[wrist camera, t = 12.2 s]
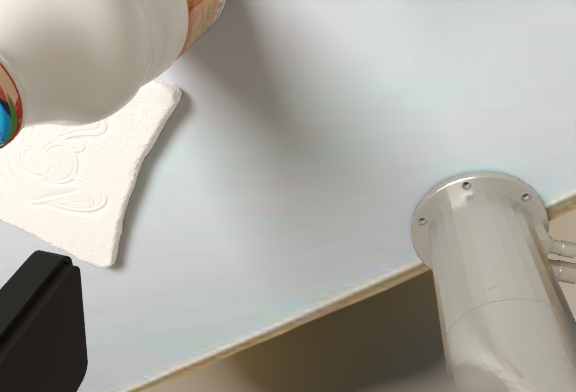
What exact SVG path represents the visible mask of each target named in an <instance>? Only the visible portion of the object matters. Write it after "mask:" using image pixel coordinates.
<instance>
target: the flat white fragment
mask: <svg viewBox="0 0 576 392" xmlns="http://www.w3.org/2000/svg"><path fill="white" fill-rule="evenodd" d="M181 95H182V92H181V90H180V89H179V88H178V87H176V86H175V85H172V84H169V83H166V82H164V81H161V80H158V79H154V80H152V81H151V82H149V83H148V84H146V85H144V86H142V87H140V89H139V90H138V92H137V94H136V95H135V96H134V97H133V99H132V100H131V101H130V102H129V103H128V104H127V105H125V106H124V107H123V108H122V109H120V110H119V111H117V112H116V113H115V114H113V115H111V116H110V117H108V118H106V119H103V120H101V121H98V122H95V123H92V124H88V125H81V126H60V125H54V124H44V125H36V126H30V127H25V128H23V129H22V130H21V132H20V133H19V134H18V135H17V136H16V137H15V138H14V140H13V141H11V142H10V143H9V144H8V145H6V146H5V147H3V148H1V149H0V220H2V221H4V222H6V223H8V224H12V225H13V226H16V227H19V228H21V229H23V230H25V231H27V232H29V233H30V234H32V235H34V236H37V237H39V238H40V239H41V240H43V241H46V242H48V243H50V244H51V245H53V246H54V247H57V248H59V249H62V250H63V251H65V252H67V253H70V254H72V255H73V256H75V257H77V258H78V259H80V260H81V261H84V262H87V263H90V264H92V265H95V266H98V267H101V268H107V267H110V266H112V265H114V263H115V261H116V258H117V255H118V248H119V240H120V236H121V234H122V228H123V219H124V216H125V211H126V208H127V205H128V202H129V198H130V196H131V194H132V192H133V189H134V187H135V183H136V180H137V176H138V172H139V170H140V167H141V164H142V162H143V161H144V158H145V156H146V155H147V154H148V152H149V151H150V150H151V149H152V147H153V145H154V143H155V141H156V140H157V138H158V136H159V134H160V132H161V130H162V128H163V127H164V125H165V123H166V122H167V120H168V118H169V116H170V115H171V114H172V112H173V111H174V109H175V108H176V106H177V104H178V102H179V101H180V98H181Z"/></svg>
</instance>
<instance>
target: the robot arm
mask: <svg viewBox="0 0 576 392" xmlns="http://www.w3.org/2000/svg"><path fill="white" fill-rule="evenodd" d="M464 182H467V183H464ZM548 228H549V220H548V215H547V211H546V209H545V207H544V204H543V202H542V201H541V199H540V197H539V196H538V194H537V193H536V192H535V191H534V190H533V189H532V188H531V187H530V186H529V185H527V184H526V183H524V182H523V181H521V180H519V179H517V178H515V177H512V176H510V175H507V174H502V173H497V172H483V171H480V172H472V173H466V174H462V175H459V176H455V177H453V178H450V179H448V180H446V181H444V182H442V183H440V184H439V185H438V186H436V187H435V188H433V189H432V190H431V191H430V192H429V193H428V194H427V195H426V196H425V197H424V198H423V199H422V200H421V202H420V203H419V205H418V206H417V208H416V211H415V213H414V216H413V219H412V225H411V232H412V241H413V246H414V248H415V250H416V253H417V255H418V256H419V258H420V259H421V260H422V262H423V263H424V264H425V265H426V266H427V267H428V268H430V269H431V270H432V271H433V276H434V282H435V289H436V296H437V304H438V310H439V317H440V325H441V332H442V339H443V345H444V352H445V358H446V365H447V369H448V373H449V376H450V378H451V381H452V383H453V385H454V387H455V388H456V390H457V391H458V392H576V322H575V319H574V317H573V315H572V312H571V310H570V308H569V306H568V303H567V301H566V299H565V297H564V294H563V292H562V290H561V288H560V285H559V283H558V281H562V282H567V283H572V284H574V283H576V264H575V263H570V262H565V261H560V260H556V261H555V260H550V259H548V258H547V255H548V254H549V253H554V254H558V255H560V256H565V257H570V258H573V257H575V255H576V244H575V243H571V242H565V241H557V240H552V237H551V236H549V235H548ZM87 365H88V360H87V347H86V335H85V323H84V311H83V299H82V287H81V275H80V269H79V267H77V266H73V264H72V260H71V258H70V257H68V256H64V255H59V254H55V253H50V252H45V251H40V250H38V251H35V252H34V253H33V254H32V255H31V256H30V257H29V258H28V259H27V260H26V261H25V262H24V263H23V265H22V266H21V267H20V268H19V269H18V270H17V271H16V272H15V274H14V275H13V276H12V277H11V278H10V279H9V280H8V281H7V283H6V284H5V285H4V286H3V287H2V288H1V289H0V392H77V390H78V388H79V386H80V384H81V383H82V381H83V379H84V376H85V373H86V370H87Z"/></svg>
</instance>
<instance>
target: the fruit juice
mask: <svg viewBox="0 0 576 392" xmlns="http://www.w3.org/2000/svg"><path fill="white" fill-rule="evenodd" d="M225 3H226V0H0V149H1V148H3V147H5V146H6V145H8V144H9V143H10V142H11V141H13V140H14V138H15V137H16V136H17V135H18V134H19V133H20V132H21V130H22V129H23V128H25V127H30V126H36V125H44V124H54V125H60V126H81V125H88V124H92V123H95V122H98V121H101V120H103V119H106V118H108V117H110V116H111V115H113V114H115V113H116V112H117V111H119V110H120V109H122V108H123V107H124V106H125V105H127V104H128V103H129V102H130V101H131V100H132V99H133V97H134V96H135V95H136V94H137V92H138V90H139V89H140V87H142V86H144V85H146V84H148V83H149V82H151V81H152V80H154V79H155V78H157V77H158V76H159V75H161V74H162V73H163V72H164V71H166V70H167V69H168V68H169V67H170V66H171V65H172V64H173V63H174V61H175V60H176V59H177V58H179V57H180V56H181V55H182V54H183V53H184V52H185V51H186V50H187V49H188V48H189V47H190V46H191V45H192V44H193V43H194V42H195V41H196V40H197V39H198V38H199V37H200V36H201V35H202V34H203V33H204V32H205V31H206V30H207V29H208V28H209V27H210V26H211V25H212V24H213V23H214V22H215V21H216V20H217V19H218V17H219V16H220V14H221V12H222V10H223V8H224V6H225Z"/></svg>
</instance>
